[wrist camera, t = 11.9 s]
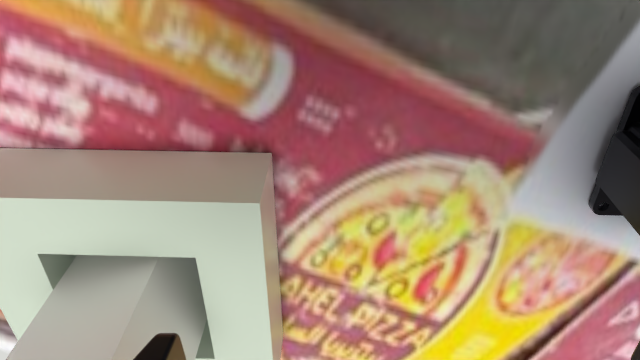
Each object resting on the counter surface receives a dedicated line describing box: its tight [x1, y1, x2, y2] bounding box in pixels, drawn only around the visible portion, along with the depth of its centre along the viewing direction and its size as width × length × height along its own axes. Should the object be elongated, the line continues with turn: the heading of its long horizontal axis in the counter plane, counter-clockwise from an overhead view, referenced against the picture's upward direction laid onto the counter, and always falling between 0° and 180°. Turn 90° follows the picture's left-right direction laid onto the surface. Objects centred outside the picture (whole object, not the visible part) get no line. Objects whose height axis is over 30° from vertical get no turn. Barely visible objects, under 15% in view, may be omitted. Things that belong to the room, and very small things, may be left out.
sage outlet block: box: [0, 148, 283, 360], centre depth 24 cm, size 13×13×4 cm
